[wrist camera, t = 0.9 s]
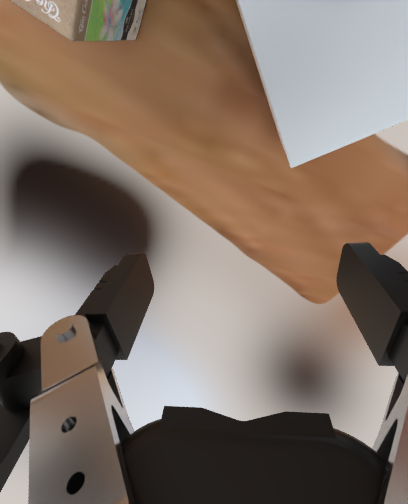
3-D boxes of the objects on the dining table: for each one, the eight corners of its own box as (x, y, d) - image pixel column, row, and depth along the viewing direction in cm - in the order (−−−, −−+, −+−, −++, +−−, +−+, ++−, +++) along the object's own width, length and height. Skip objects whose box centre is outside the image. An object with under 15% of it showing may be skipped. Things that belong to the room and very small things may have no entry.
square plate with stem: (226, -35, 17) (220, -71, 11) (492, -250, 12) (779, -562, 6) (290, 165, 26) (306, 210, 20) (458, 95, 21) (554, 125, 14)
